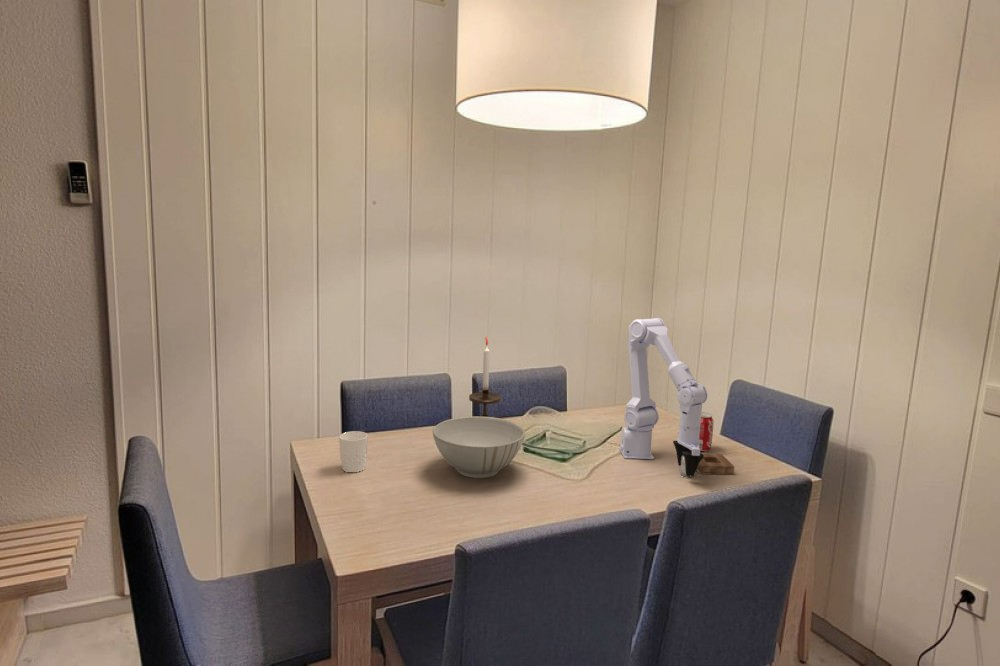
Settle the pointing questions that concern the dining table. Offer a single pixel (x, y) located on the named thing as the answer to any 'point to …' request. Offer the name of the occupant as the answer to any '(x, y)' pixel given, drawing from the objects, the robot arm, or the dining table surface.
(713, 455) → the hole block
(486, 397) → the candlestick
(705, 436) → the soda can
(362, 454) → the white cup
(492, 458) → the decorative bowl
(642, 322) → the robot arm
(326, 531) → the dining table surface
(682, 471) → the pin
